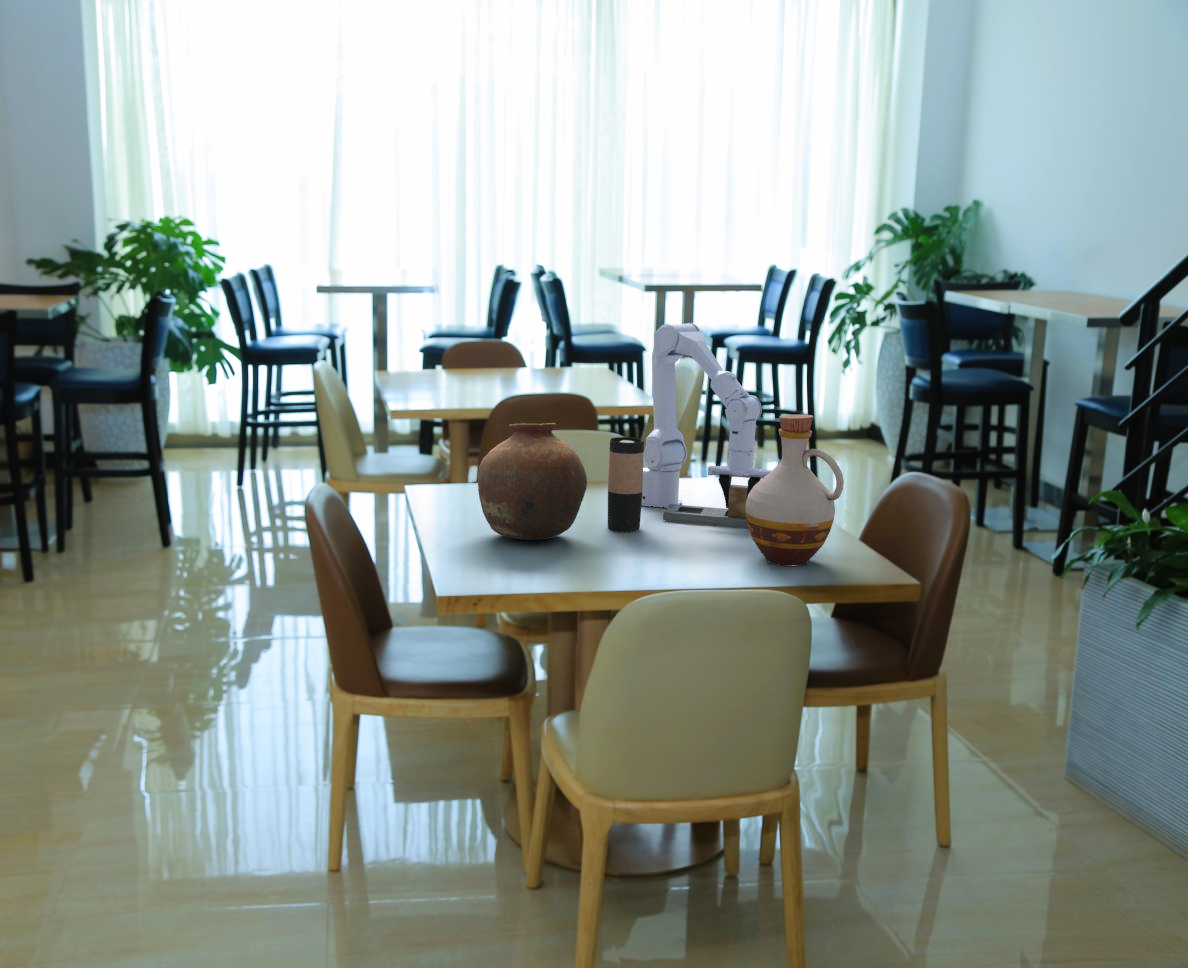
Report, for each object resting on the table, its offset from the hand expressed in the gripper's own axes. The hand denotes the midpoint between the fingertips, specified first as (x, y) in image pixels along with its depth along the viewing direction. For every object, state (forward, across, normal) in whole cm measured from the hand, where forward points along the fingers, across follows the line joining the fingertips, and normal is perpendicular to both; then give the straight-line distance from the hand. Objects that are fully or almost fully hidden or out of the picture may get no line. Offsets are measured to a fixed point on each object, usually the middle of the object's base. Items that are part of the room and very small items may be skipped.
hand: (737, 508), depth 272 cm
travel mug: (+4, -24, -15) cm, 28 cm away
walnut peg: (+2, 0, 0) cm, 2 cm away
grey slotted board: (+3, -6, 0) cm, 6 cm away
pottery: (+4, -40, -30) cm, 51 cm away
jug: (+4, +14, -30) cm, 34 cm away
